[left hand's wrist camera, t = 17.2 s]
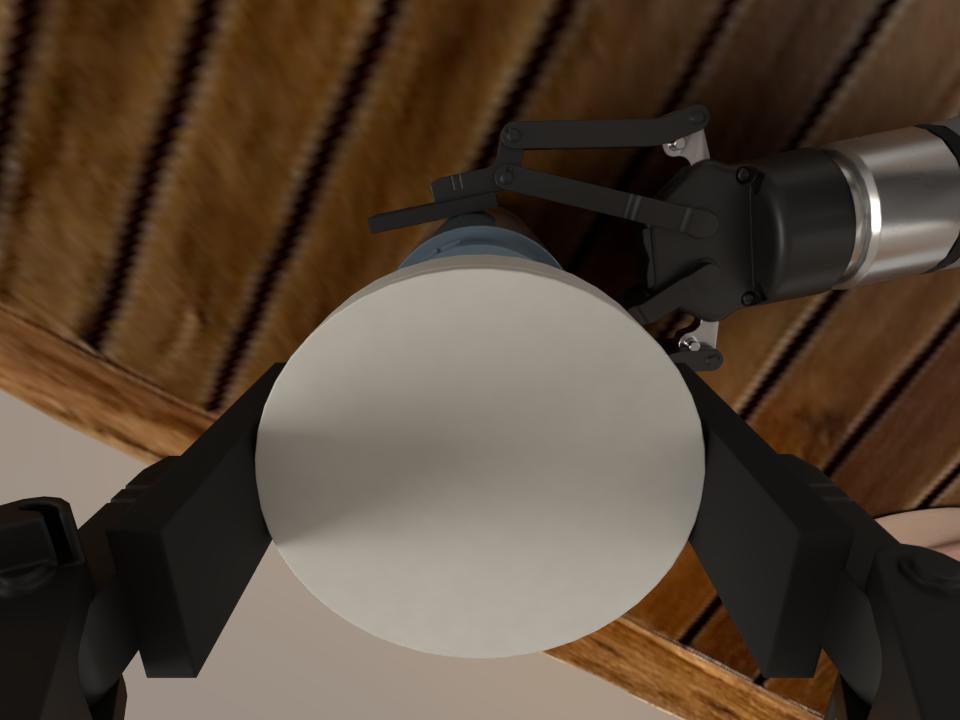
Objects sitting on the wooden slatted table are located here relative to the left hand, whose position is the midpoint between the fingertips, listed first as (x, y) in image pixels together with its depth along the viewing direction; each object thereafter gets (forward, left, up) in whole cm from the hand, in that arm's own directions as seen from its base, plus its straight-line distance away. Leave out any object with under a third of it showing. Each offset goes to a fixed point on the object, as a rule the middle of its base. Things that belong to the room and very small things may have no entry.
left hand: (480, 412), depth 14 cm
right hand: (+3, -4, -16) cm, 17 cm away
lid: (0, 0, +3) cm, 3 cm away
